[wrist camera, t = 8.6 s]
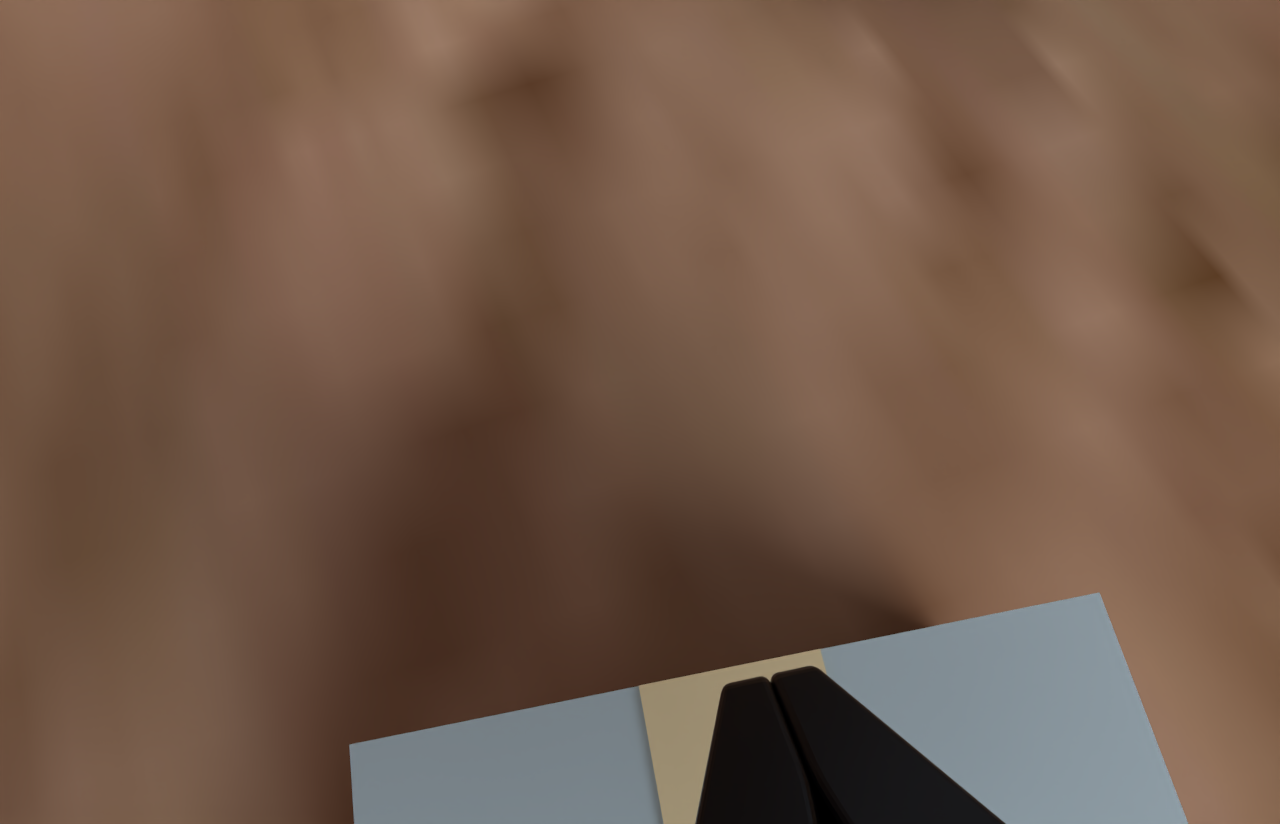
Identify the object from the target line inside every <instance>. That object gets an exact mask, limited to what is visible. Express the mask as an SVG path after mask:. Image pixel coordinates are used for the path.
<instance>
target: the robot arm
mask: <svg viewBox="0 0 1280 824" xmlns="http://www.w3.org/2000/svg"><path fill="white" fill-rule="evenodd" d="M695 824H1006V823H1005V822H1003V821H1002V820H1001V819H1000V818H999V817H997V816H996V815H995V814H994V813H992V812H991V811H990V810H989V809H988V808H986V807H985V806H984V805H983V804H982V803H980V802H979V801H978V800H977V799H976V798H974V797H973V796H972V795H971V794H970V793H968V792H967V791H966V790H965V789H964V788H962V787H961V786H960V785H959V784H958V783H956V782H955V781H954V780H953V779H952V778H950V777H949V776H948V775H947V774H946V773H944V772H943V771H942V770H941V769H940V768H938V767H937V766H936V765H935V764H934V763H932V762H931V761H930V760H929V759H927V758H926V757H925V756H924V755H923V754H921V753H920V752H919V751H918V750H917V749H915V748H914V747H913V746H912V745H911V744H909V743H908V742H907V741H906V740H905V739H903V738H902V737H901V736H900V735H899V734H897V733H896V732H895V731H894V730H893V729H891V728H890V727H889V726H888V725H887V724H885V723H884V722H883V721H882V720H881V719H879V718H878V717H877V716H876V715H875V714H873V713H872V712H871V711H870V710H868V709H867V708H866V707H865V706H864V705H862V704H861V703H860V702H859V701H858V700H856V699H855V698H854V697H853V696H852V695H850V694H849V693H848V692H847V691H846V690H844V689H843V688H842V687H841V686H840V685H838V684H837V683H836V682H835V681H834V680H832V679H831V678H830V677H829V676H828V675H826V674H825V673H824V672H823V671H822V670H820V669H819V668H817V667H814V666H805V667H801V668H796V669H791V670H787V671H782V672H777V673H775V674H774V675H773V676H772V677H771V680H770V681H769V680H768V679H767V678H766V677H763V676H759V677H754V678H750V679H745V680H741V681H736V682H732V683H728V684H726V685H725V686H724V687H723V689H722V691H721V695H720V700H719V705H718V710H717V715H716V720H715V725H714V730H713V736H712V741H711V746H710V751H709V756H708V761H707V766H706V771H705V776H704V781H703V786H702V791H701V796H700V801H699V807H698V812H697V817H696V822H695Z"/></svg>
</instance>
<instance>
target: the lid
mask: <svg viewBox="0 0 1280 824" xmlns="http://www.w3.org/2000/svg"><path fill="white" fill-rule="evenodd" d="M805 666H814V667H817V668H819V669H820V670H822V671H823V672H824V673H825V674H826V675H828V676H829V677H830V678H831V679H832V680H834V681H835V682H836V683H837V684H838V685H840V686H841V687H842V688H843V689H844V690H846V691H847V692H848V693H849V694H850V695H852V696H853V697H854V698H855V699H856V700H858V701H859V702H860V703H861V704H862V705H864V706H865V707H866V708H867V709H868V710H870V711H871V712H872V713H873V714H875V715H876V716H877V717H878V718H879V719H881V720H882V721H883V722H884V723H885V724H887V725H888V726H889V727H890V728H891V729H893V730H894V731H895V732H896V733H897V734H899V735H900V736H901V737H902V738H903V739H905V740H906V741H907V742H908V743H909V744H911V745H912V746H913V747H914V748H915V749H917V750H918V751H919V752H920V753H921V754H923V755H924V756H925V757H926V758H927V759H929V760H930V761H931V762H932V763H934V764H935V765H936V766H937V767H938V768H940V769H941V770H942V771H943V772H944V773H946V774H947V775H948V776H949V777H950V778H952V779H953V780H954V781H955V782H956V783H958V784H959V785H960V786H961V787H962V788H964V789H965V790H966V791H967V792H968V793H970V794H971V795H972V796H973V797H974V798H976V799H977V800H978V801H979V802H980V803H982V804H983V805H984V806H985V807H986V808H988V809H989V810H990V811H991V812H992V813H994V814H995V815H996V816H997V817H999V818H1000V819H1001V820H1002V821H1003V822H1005V823H1006V824H1188V822H1187V819H1186V817H1185V814H1184V811H1183V809H1182V806H1181V804H1180V801H1179V798H1178V796H1177V793H1176V791H1175V788H1174V785H1173V783H1172V780H1171V778H1170V775H1169V772H1168V770H1167V767H1166V765H1165V762H1164V759H1163V757H1162V754H1161V752H1160V749H1159V746H1158V744H1157V741H1156V739H1155V736H1154V733H1153V731H1152V728H1151V726H1150V723H1149V720H1148V718H1147V715H1146V713H1145V710H1144V707H1143V705H1142V702H1141V700H1140V697H1139V694H1138V692H1137V689H1136V687H1135V684H1134V681H1133V679H1132V676H1131V674H1130V671H1129V668H1128V666H1127V663H1126V661H1125V658H1124V655H1123V653H1122V650H1121V648H1120V645H1119V642H1118V640H1117V637H1116V635H1115V632H1114V629H1113V627H1112V624H1111V622H1110V619H1109V616H1108V614H1107V611H1106V609H1105V606H1104V603H1103V601H1102V598H1101V596H1100V593H1095V594H1090V595H1085V596H1080V597H1075V598H1070V599H1065V600H1060V601H1055V602H1050V603H1046V604H1041V605H1036V606H1031V607H1026V608H1021V609H1016V610H1011V611H1006V612H1001V613H996V614H991V615H986V616H981V617H976V618H972V619H967V620H962V621H957V622H952V623H947V624H942V625H937V626H932V627H927V628H922V629H917V630H912V631H907V632H902V633H898V634H893V635H888V636H883V637H878V638H873V639H868V640H863V641H858V642H853V643H848V644H843V645H838V646H833V647H828V648H824V649H817V650H812V651H807V652H802V653H797V654H792V655H787V656H782V657H777V658H772V659H767V660H762V661H757V662H752V663H747V664H742V665H738V666H733V667H728V668H723V669H718V670H713V671H708V672H703V673H698V674H693V675H688V676H683V677H678V678H673V679H668V680H664V681H659V682H654V683H649V684H644V685H639V686H636V687H631V688H626V689H621V690H616V691H611V692H606V693H601V694H597V695H592V696H587V697H582V698H577V699H572V700H567V701H562V702H557V703H552V704H547V705H542V706H537V707H532V708H527V709H523V710H518V711H513V712H508V713H503V714H498V715H493V716H488V717H483V718H478V719H473V720H468V721H463V722H458V723H453V724H449V725H444V726H439V727H434V728H429V729H424V730H419V731H414V732H409V733H404V734H399V735H394V736H389V737H384V738H379V739H374V740H370V741H365V742H360V743H355V744H350V745H349V747H350V764H351V780H352V796H353V813H354V824H695V822H696V817H697V812H698V807H699V801H700V796H701V791H702V786H703V781H704V776H705V771H706V766H707V761H708V756H709V751H710V746H711V741H712V736H713V730H714V725H715V720H716V715H717V710H718V705H719V700H720V695H721V691H722V689H723V687H724V686H725V685H726V684H728V683H732V682H736V681H741V680H745V679H750V678H754V677H759V676H763V677H766V678H767V679H768V680H769V681H770V680H771V677H772V676H773V675H774V674H775V673H777V672H782V671H787V670H791V669H796V668H801V667H805Z"/></svg>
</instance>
